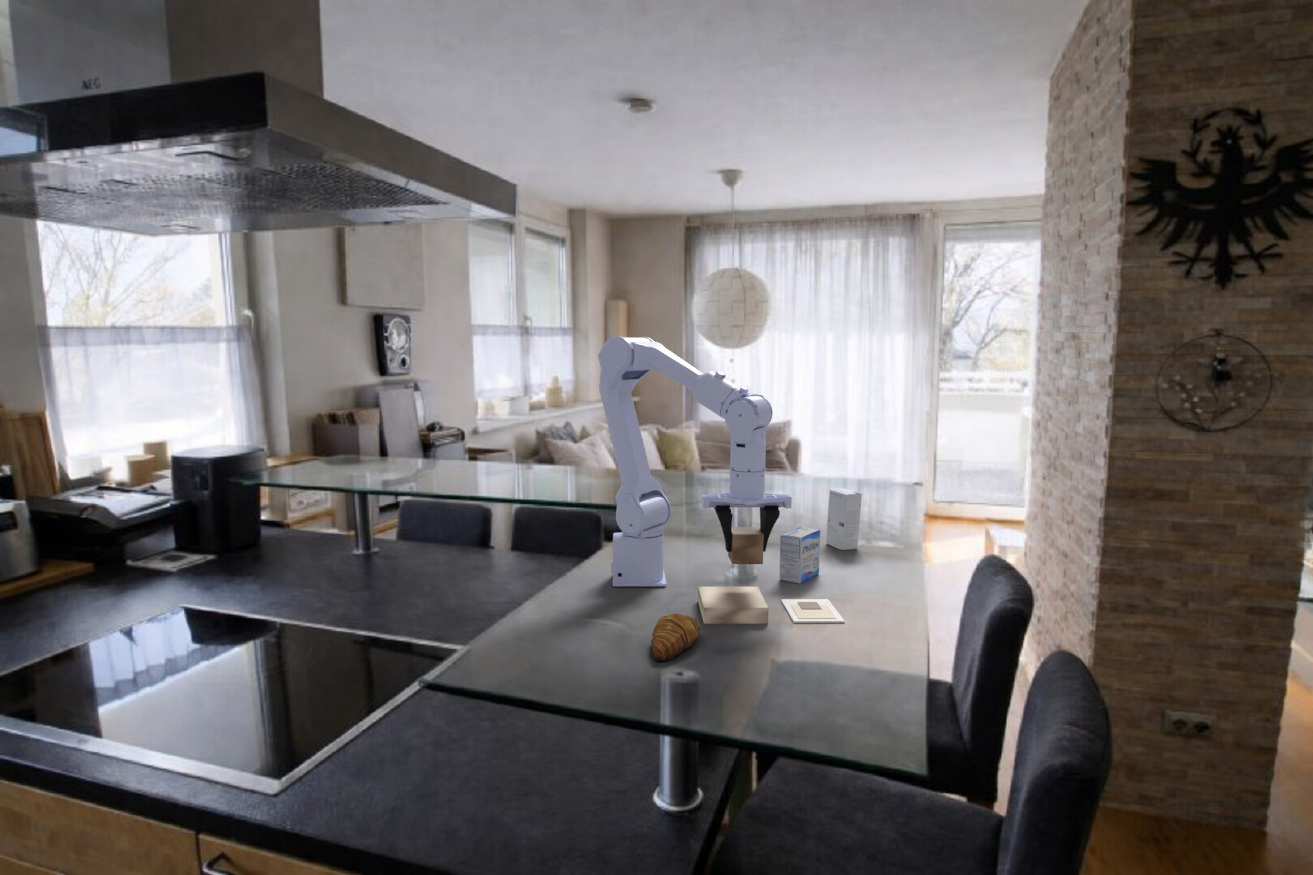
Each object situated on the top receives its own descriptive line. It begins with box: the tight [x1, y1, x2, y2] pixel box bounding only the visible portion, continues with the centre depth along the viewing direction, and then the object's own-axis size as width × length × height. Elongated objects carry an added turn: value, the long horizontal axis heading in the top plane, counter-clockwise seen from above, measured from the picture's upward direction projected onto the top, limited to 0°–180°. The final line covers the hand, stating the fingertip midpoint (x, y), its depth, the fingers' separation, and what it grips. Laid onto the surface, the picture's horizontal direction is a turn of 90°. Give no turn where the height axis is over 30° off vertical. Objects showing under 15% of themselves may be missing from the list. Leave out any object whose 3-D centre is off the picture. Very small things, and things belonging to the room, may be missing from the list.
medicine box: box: [779, 526, 821, 585], centre depth 139 cm, size 8×4×9 cm, turn 143°
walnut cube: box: [727, 526, 764, 565], centre depth 125 cm, size 5×5×5 cm
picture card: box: [780, 598, 846, 624], centre depth 122 cm, size 8×10×1 cm
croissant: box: [650, 613, 701, 662], centre depth 108 cm, size 14×7×5 cm, turn 157°
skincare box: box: [825, 487, 863, 551], centre depth 161 cm, size 6×4×12 cm
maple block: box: [697, 586, 769, 625], centre depth 122 cm, size 10×10×3 cm
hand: (745, 550), depth 125 cm, fingers closed on walnut cube, 5 cm apart
